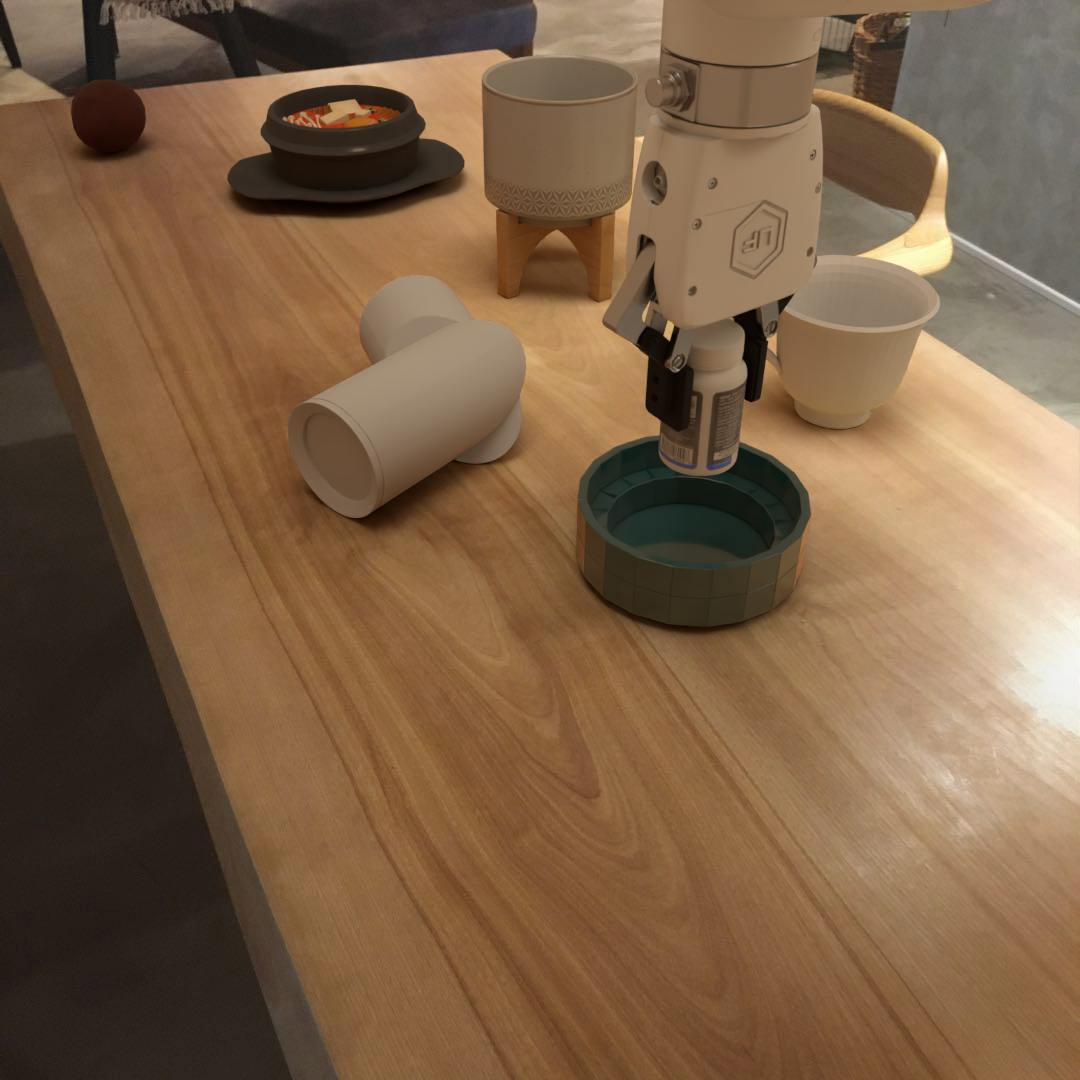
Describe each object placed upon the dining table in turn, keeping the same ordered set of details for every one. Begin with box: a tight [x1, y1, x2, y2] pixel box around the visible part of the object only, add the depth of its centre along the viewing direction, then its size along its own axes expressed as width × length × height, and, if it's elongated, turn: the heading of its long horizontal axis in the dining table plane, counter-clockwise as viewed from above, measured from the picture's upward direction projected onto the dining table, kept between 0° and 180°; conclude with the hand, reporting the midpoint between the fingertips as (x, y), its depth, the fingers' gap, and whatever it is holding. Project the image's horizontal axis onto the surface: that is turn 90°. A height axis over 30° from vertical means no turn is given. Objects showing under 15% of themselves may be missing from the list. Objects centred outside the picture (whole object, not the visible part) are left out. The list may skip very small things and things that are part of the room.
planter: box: [481, 54, 639, 302], centre depth 103 cm, size 13×13×18 cm
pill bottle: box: [659, 319, 747, 476], centre depth 68 cm, size 5×5×8 cm
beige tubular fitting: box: [287, 274, 527, 519], centre depth 83 cm, size 18×10×20 cm
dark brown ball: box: [70, 78, 147, 153], centre depth 132 cm, size 8×9×8 cm
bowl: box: [575, 434, 812, 628], centre depth 74 cm, size 14×14×5 cm
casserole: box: [227, 84, 466, 205], centre depth 123 cm, size 25×19×8 cm
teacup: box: [727, 254, 941, 430], centre depth 87 cm, size 12×15×10 cm
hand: (703, 402), depth 68 cm, fingers closed on pill bottle, 4 cm apart
